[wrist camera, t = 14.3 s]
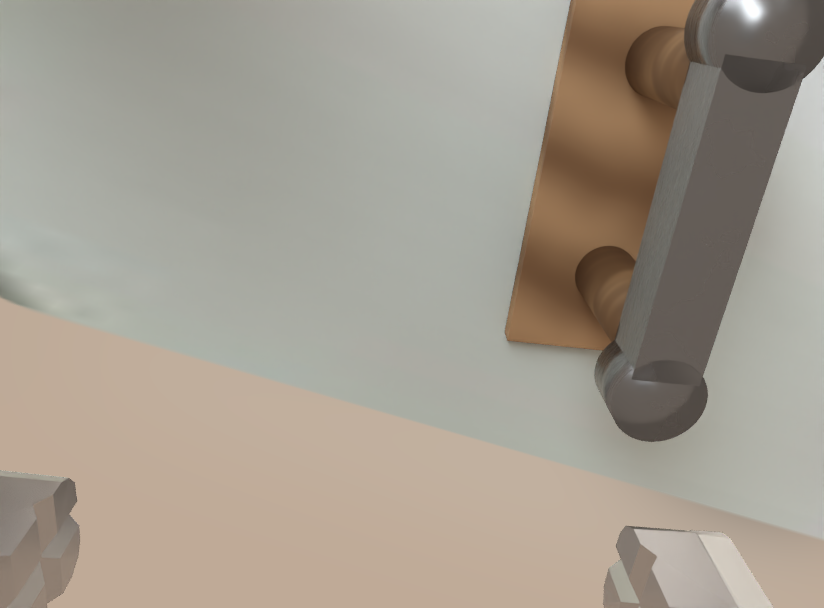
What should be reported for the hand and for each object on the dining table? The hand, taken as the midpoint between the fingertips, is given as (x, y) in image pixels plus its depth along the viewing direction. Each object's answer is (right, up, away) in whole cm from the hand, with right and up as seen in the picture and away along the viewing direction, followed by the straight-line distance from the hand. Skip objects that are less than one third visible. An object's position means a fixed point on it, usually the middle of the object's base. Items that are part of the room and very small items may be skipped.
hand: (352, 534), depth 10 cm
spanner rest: (+13, +11, +29) cm, 34 cm away
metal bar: (+13, +7, +21) cm, 26 cm away
